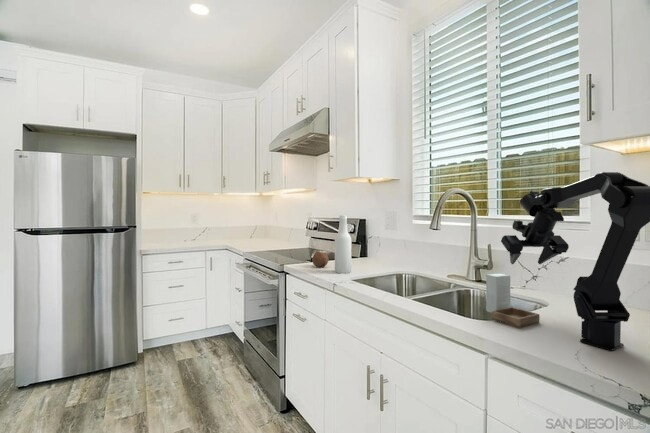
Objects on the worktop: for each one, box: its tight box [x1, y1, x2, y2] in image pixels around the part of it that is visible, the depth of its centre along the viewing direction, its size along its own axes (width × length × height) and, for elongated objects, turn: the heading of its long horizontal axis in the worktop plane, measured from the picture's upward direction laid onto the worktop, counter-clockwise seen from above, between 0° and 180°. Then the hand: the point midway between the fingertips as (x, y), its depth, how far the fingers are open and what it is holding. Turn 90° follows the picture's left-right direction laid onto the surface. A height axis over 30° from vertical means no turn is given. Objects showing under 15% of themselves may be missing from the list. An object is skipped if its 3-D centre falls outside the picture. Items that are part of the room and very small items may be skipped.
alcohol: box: [334, 214, 352, 274], centre depth 176 cm, size 9×9×30 cm
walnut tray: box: [491, 306, 540, 329], centre depth 98 cm, size 8×10×2 cm
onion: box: [311, 251, 329, 268], centre depth 192 cm, size 10×9×10 cm
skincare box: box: [485, 272, 511, 314], centre depth 107 cm, size 6×4×12 cm
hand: (525, 263), depth 112 cm, fingers open, 9 cm apart
